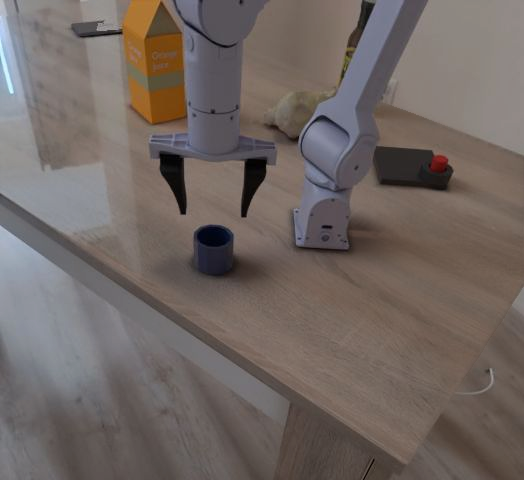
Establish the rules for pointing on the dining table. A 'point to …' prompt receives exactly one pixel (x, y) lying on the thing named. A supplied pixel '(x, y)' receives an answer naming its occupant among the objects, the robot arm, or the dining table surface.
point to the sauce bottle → (356, 35)
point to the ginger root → (296, 110)
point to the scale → (409, 168)
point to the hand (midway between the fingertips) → (213, 211)
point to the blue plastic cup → (213, 249)
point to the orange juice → (154, 61)
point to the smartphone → (90, 28)
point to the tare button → (439, 163)
